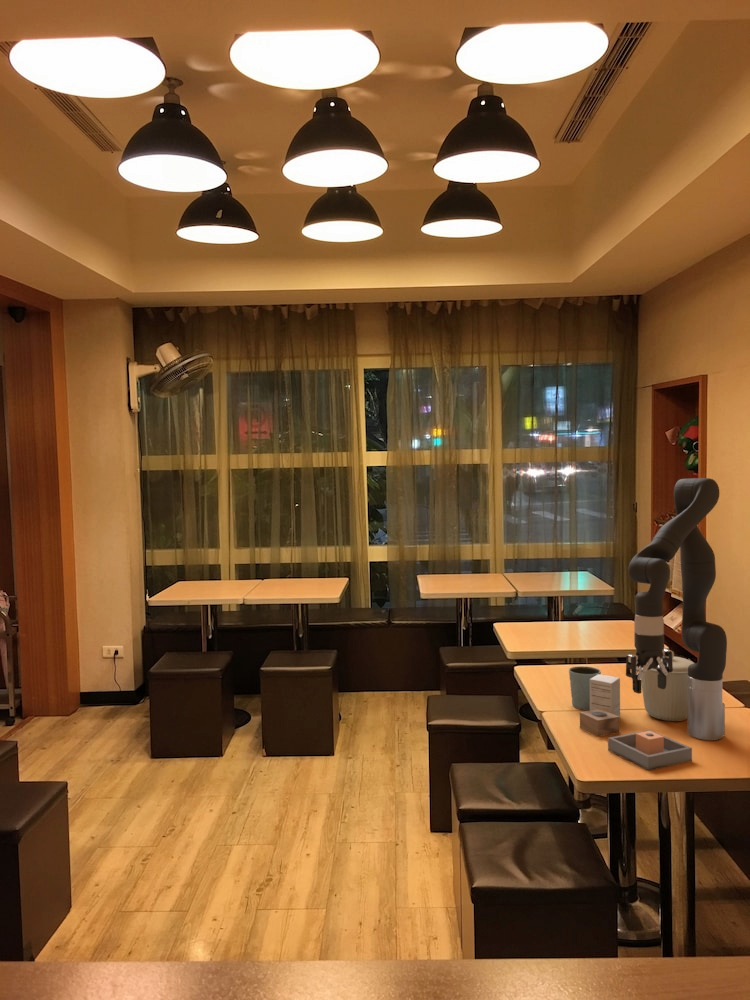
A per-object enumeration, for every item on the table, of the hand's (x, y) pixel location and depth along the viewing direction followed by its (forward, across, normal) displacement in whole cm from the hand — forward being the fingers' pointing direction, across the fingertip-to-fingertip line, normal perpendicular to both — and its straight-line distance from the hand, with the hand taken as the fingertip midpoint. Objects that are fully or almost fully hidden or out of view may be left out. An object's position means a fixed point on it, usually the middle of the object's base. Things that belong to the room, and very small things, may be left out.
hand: (649, 690), depth 191 cm
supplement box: (+18, -10, -29) cm, 36 cm away
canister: (+18, -29, -22) cm, 41 cm away
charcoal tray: (+18, 0, 0) cm, 18 cm away
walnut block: (+18, -1, -21) cm, 28 cm away
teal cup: (+18, -12, -41) cm, 46 cm away
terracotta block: (+17, 0, 0) cm, 17 cm away
